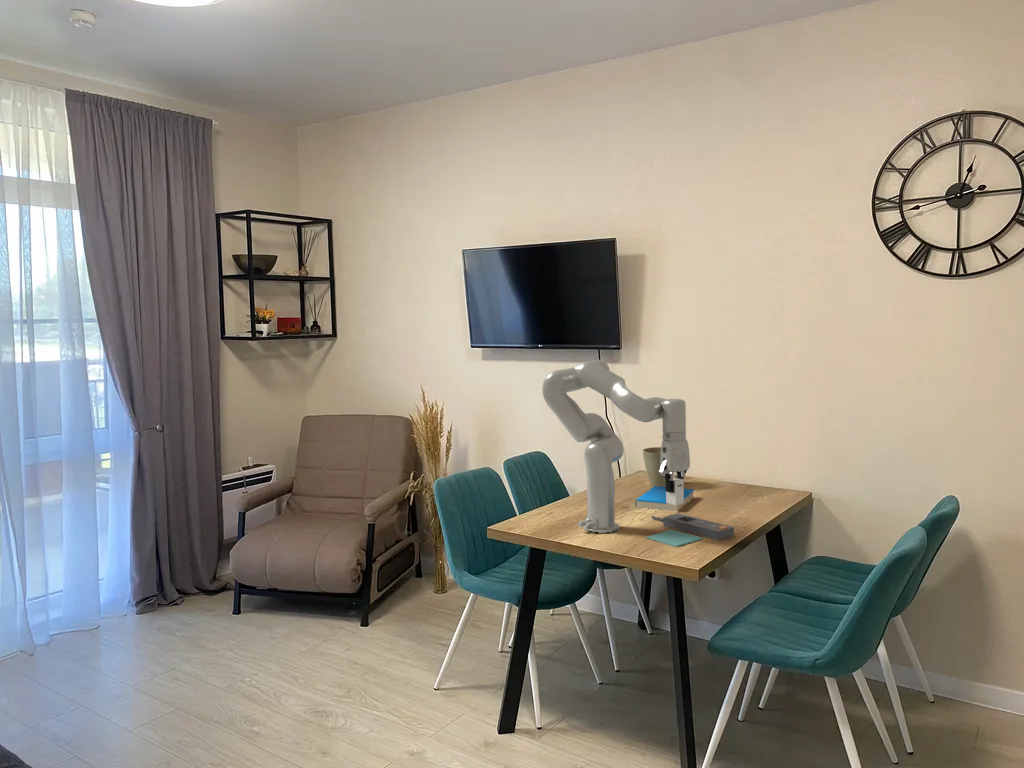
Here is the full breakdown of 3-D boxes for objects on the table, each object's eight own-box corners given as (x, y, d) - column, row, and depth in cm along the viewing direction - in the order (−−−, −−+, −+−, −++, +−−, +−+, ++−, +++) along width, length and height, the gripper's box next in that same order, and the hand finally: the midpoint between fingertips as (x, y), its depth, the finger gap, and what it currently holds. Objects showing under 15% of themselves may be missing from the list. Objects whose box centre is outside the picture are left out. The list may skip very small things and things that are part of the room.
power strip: (734, 535, 253) (734, 525, 253) (719, 540, 249) (719, 529, 248) (659, 516, 280) (659, 507, 279) (644, 520, 275) (644, 510, 274)
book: (694, 489, 307) (678, 502, 284) (694, 499, 307) (678, 513, 285) (653, 485, 314) (635, 498, 292) (653, 495, 315) (634, 509, 292)
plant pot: (640, 482, 336) (639, 447, 335) (673, 482, 336) (673, 446, 335) (645, 490, 321) (645, 453, 320) (680, 489, 321) (680, 452, 320)
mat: (676, 547, 242) (676, 545, 242) (646, 538, 253) (646, 536, 253) (702, 539, 250) (702, 537, 250) (671, 531, 261) (671, 529, 261)
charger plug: (676, 505, 247) (676, 481, 247) (666, 503, 251) (666, 479, 250) (684, 503, 250) (684, 479, 249) (674, 501, 253) (674, 477, 252)
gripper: (666, 440, 240) (666, 497, 242) (699, 434, 251) (699, 488, 252) (648, 438, 246) (649, 493, 248) (681, 432, 256) (682, 485, 258)
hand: (674, 490), depth 250 cm, fingers closed on charger plug, 4 cm apart
